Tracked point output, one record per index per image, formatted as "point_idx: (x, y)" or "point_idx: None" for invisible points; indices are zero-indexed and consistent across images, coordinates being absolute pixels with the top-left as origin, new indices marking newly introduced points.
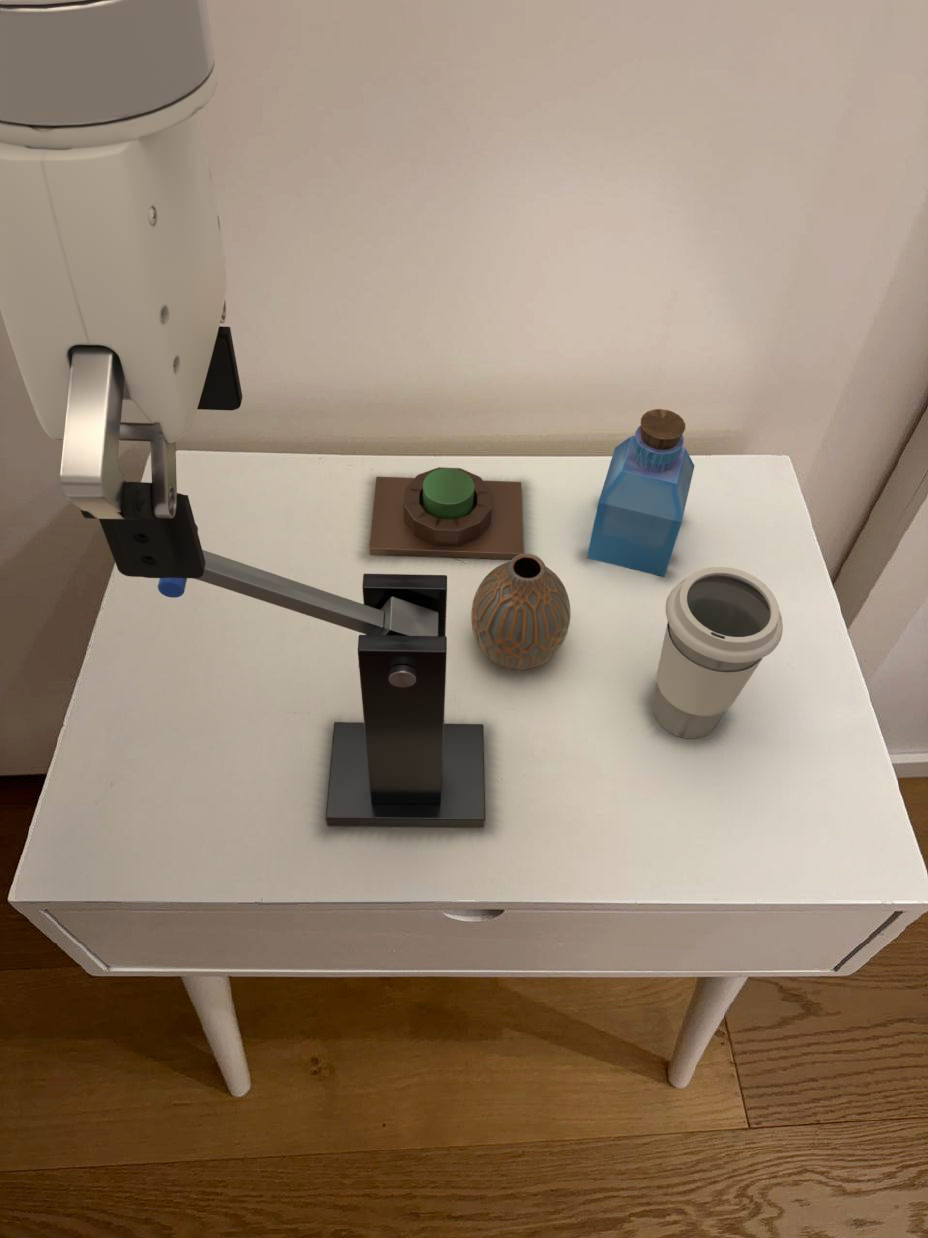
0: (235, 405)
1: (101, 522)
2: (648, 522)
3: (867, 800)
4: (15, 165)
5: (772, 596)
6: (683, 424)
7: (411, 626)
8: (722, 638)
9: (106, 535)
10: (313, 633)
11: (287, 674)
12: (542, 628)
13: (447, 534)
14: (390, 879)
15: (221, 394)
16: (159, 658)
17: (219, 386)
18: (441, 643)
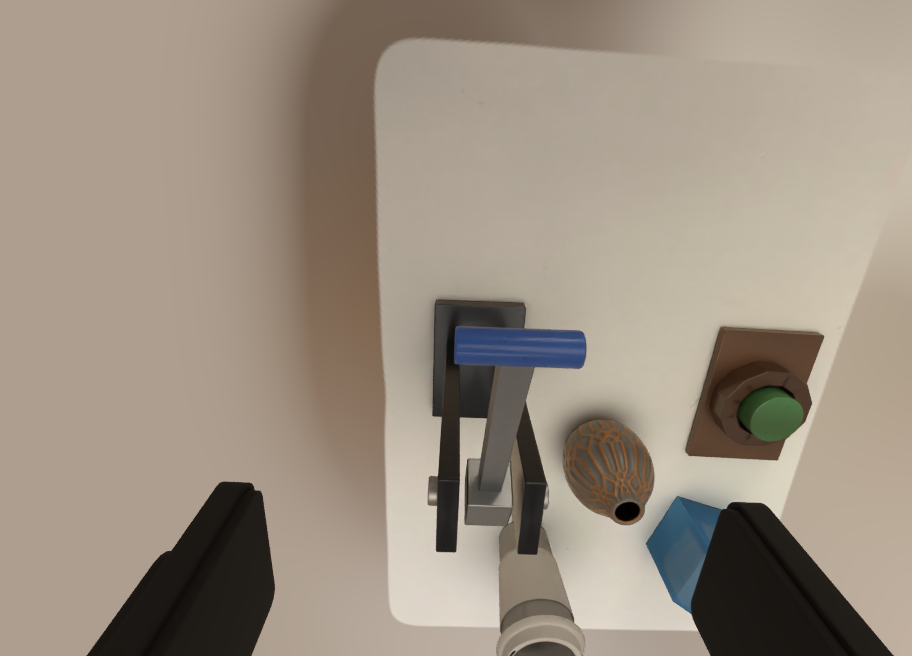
0: (695, 619)
1: (122, 623)
2: (681, 574)
3: (450, 615)
4: None
5: None
6: None
7: (478, 515)
8: (512, 652)
9: (158, 575)
10: (632, 279)
11: (588, 258)
12: (577, 494)
13: (720, 405)
14: (392, 345)
15: (715, 630)
16: (624, 128)
17: (728, 650)
18: (445, 549)
